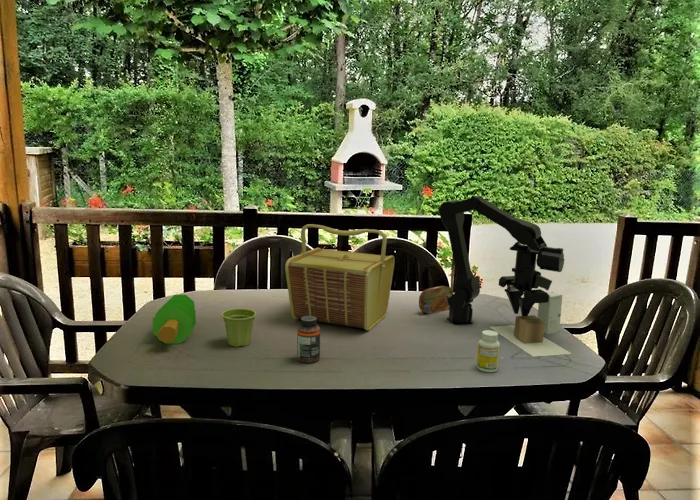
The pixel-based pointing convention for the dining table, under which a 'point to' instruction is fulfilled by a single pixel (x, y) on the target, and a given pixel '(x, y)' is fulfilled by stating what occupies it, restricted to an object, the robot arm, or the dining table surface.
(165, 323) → the decorative tree
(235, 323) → the plant pot
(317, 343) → the supplement bottle
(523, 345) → the cream mat
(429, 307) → the tin
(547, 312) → the skincare box
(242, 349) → the dining table surface
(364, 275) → the picnic basket
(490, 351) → the supplement bottle
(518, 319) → the tan cube
